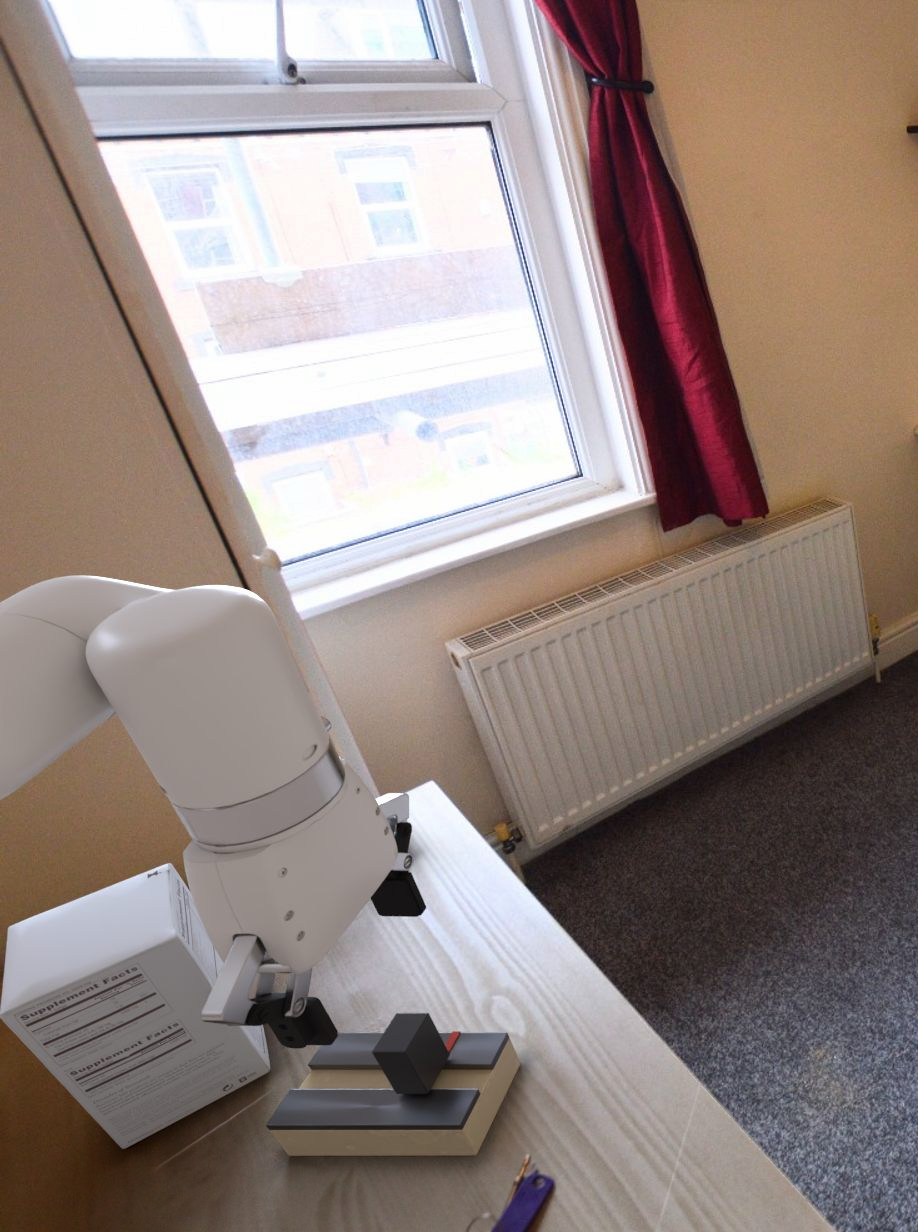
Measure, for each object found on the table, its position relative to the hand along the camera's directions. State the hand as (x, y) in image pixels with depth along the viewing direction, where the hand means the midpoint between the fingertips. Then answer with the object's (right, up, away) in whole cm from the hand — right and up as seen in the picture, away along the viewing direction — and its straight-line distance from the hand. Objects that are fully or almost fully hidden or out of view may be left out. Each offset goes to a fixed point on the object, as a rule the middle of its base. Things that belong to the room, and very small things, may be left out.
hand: (361, 972), depth 59 cm
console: (-2, -14, +8) cm, 17 cm away
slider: (0, -11, +6) cm, 13 cm away
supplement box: (-21, -13, +11) cm, 27 cm away
